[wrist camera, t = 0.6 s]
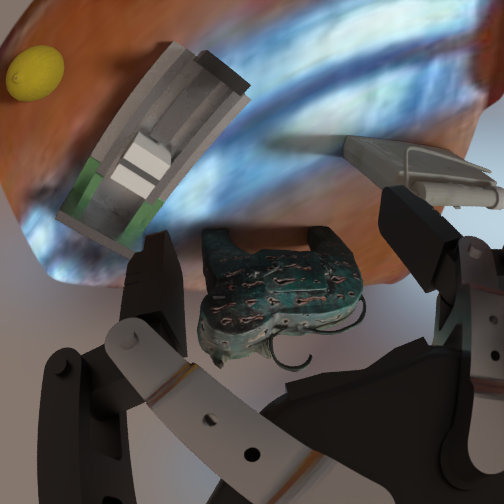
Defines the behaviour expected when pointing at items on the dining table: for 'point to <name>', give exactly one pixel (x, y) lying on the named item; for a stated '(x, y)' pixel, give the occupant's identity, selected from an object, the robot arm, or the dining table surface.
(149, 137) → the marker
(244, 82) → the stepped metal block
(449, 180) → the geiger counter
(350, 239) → the dining table surface
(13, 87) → the lemon
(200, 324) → the green animal figurine
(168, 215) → the dining table surface
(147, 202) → the grey open box
